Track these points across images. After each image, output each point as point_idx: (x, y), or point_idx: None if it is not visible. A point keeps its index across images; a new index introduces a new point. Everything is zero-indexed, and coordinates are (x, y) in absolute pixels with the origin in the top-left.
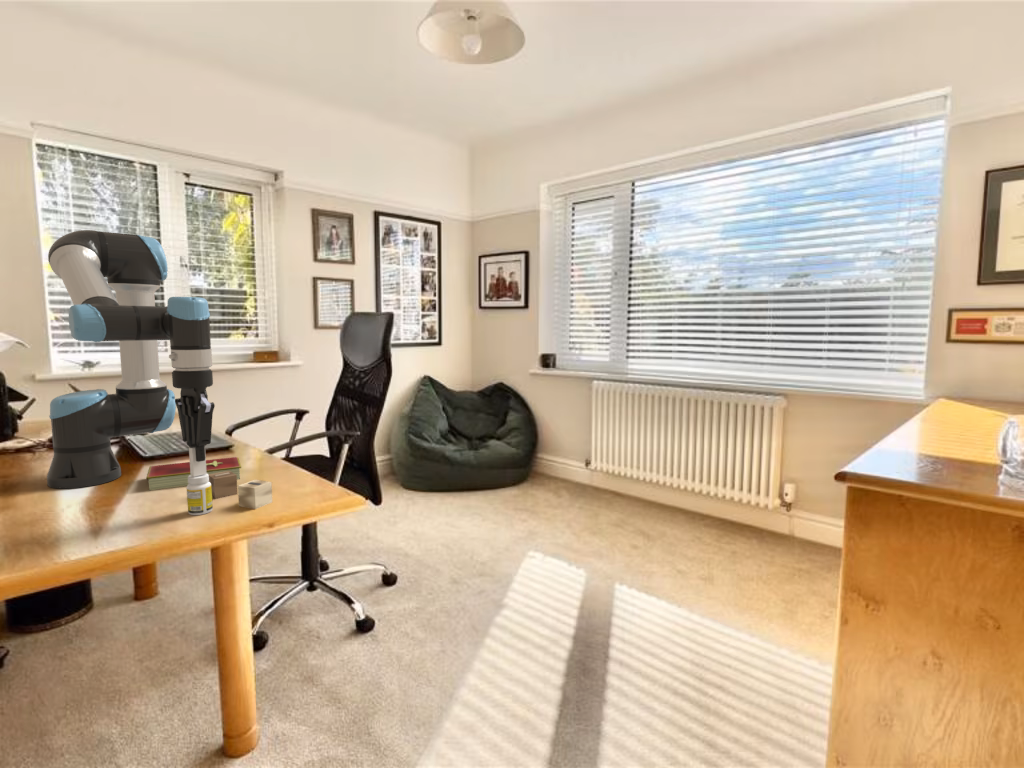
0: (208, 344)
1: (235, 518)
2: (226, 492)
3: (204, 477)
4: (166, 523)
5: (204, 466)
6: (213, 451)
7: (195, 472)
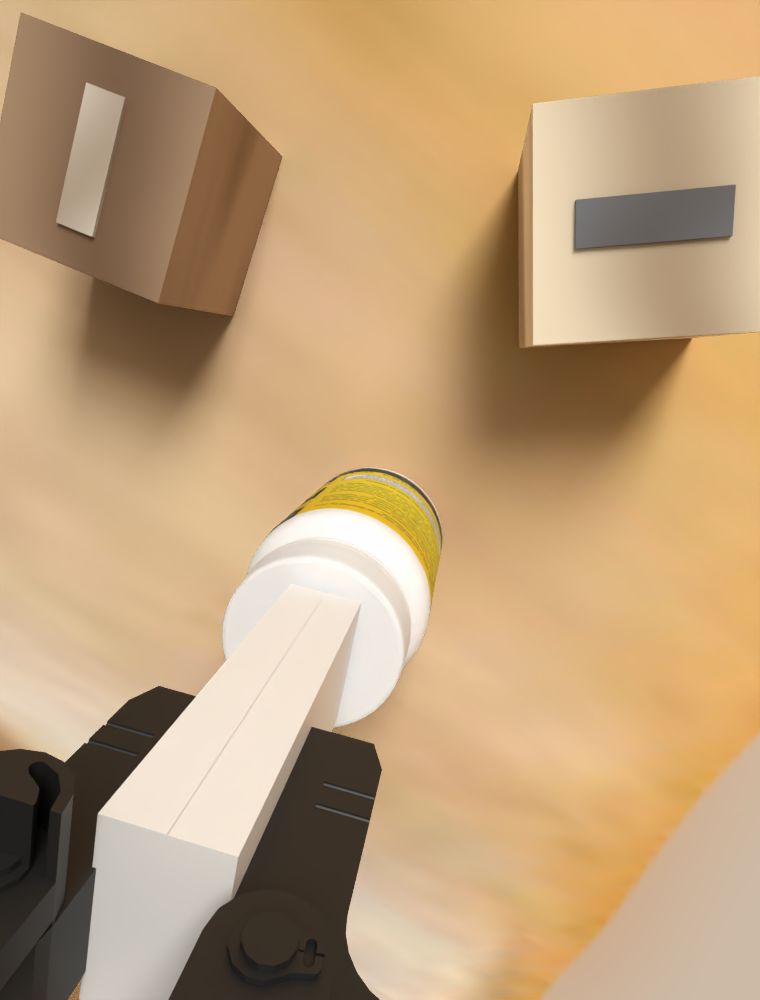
0: None
1: (695, 530)
2: (245, 231)
3: (403, 648)
4: (369, 730)
5: (338, 660)
6: None
7: (332, 726)
